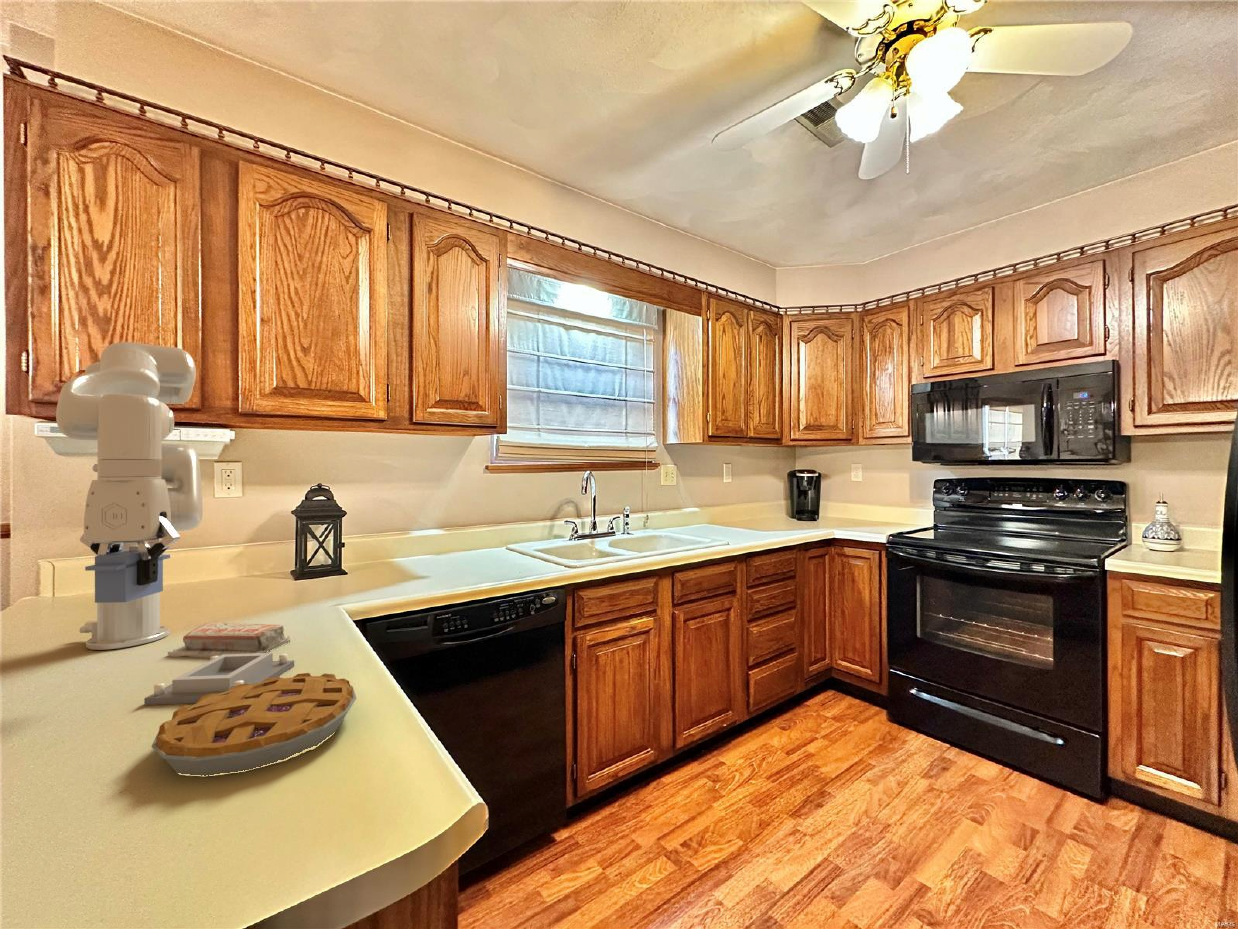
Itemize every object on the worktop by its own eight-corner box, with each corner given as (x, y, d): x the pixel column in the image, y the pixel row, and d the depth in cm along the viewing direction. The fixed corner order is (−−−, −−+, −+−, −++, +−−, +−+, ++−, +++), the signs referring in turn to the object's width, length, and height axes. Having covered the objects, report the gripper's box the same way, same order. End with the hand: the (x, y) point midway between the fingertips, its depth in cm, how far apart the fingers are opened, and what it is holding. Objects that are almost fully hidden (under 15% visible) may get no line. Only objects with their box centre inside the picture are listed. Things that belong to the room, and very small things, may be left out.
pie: (113, 809, 53) (114, 760, 53) (191, 716, 73) (191, 681, 73) (350, 759, 62) (349, 718, 62) (361, 689, 82) (361, 658, 82)
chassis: (144, 705, 77) (144, 684, 77) (212, 668, 91) (212, 651, 91) (241, 701, 78) (241, 681, 78) (294, 666, 92) (294, 649, 92)
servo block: (85, 605, 78) (85, 552, 78) (142, 589, 88) (142, 542, 88) (116, 605, 78) (116, 552, 78) (170, 588, 88) (170, 542, 88)
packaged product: (292, 619, 105) (253, 635, 95) (293, 643, 105) (253, 661, 95) (213, 618, 107) (166, 633, 97) (213, 641, 107) (166, 658, 97)
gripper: (50, 471, 78) (50, 590, 78) (166, 471, 79) (166, 588, 80) (97, 470, 86) (97, 579, 86) (202, 470, 87) (202, 578, 87)
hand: (130, 582), depth 83 cm, fingers closed on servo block, 4 cm apart
